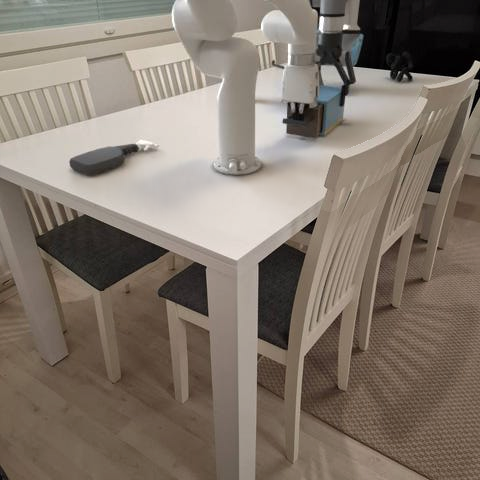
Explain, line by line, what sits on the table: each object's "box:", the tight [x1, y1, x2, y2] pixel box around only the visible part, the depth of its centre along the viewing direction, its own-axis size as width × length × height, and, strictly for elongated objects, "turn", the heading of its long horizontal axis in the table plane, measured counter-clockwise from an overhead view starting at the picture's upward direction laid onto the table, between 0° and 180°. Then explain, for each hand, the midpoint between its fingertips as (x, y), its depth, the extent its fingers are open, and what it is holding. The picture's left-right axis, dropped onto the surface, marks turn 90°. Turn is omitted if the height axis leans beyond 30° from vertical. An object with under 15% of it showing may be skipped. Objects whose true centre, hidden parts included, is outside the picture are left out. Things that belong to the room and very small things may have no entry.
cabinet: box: [317, 85, 345, 137], centre depth 145 cm, size 19×11×11 cm, turn 151°
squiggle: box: [385, 51, 414, 83], centre depth 198 cm, size 11×10×15 cm
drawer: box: [281, 102, 324, 139], centre depth 138 cm, size 24×10×9 cm, turn 151°
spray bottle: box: [68, 139, 160, 177], centre depth 124 cm, size 3×11×24 cm
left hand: (298, 125), depth 132 cm, fingers closed
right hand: (324, 103), depth 149 cm, fingers closed on cabinet, 11 cm apart
